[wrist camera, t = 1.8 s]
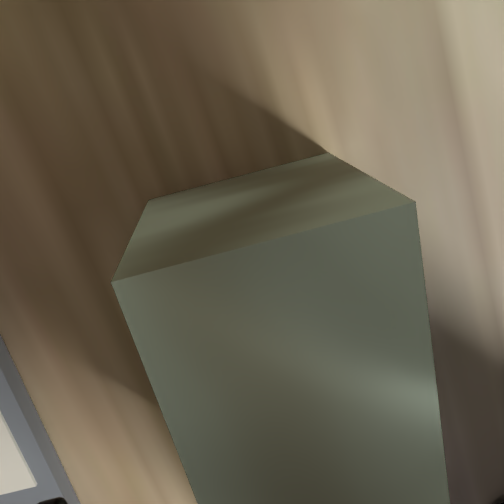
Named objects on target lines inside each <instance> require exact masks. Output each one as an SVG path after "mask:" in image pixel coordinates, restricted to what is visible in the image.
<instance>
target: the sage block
mask: <svg viewBox="0 0 504 504" xmlns="http://www.w3.org/2000/svg"><path fill="white" fill-rule="evenodd" d="M111 284H112V286H113V289H114V292H115V294H116V297H117V299H118V302H119V304H120V307H121V309H122V312H123V315H124V317H125V320H126V322H127V325H128V327H129V330H130V332H131V335H132V337H133V340H134V343H135V345H136V348H137V350H138V353H139V355H140V358H141V360H142V363H143V365H144V368H145V371H146V373H147V376H148V378H149V381H150V383H151V386H152V388H153V391H154V394H155V396H156V399H157V401H158V404H159V406H160V409H161V411H162V414H163V416H164V419H165V422H166V424H167V427H168V429H169V432H170V434H171V437H172V439H173V442H174V444H175V447H176V450H177V452H178V455H179V457H180V460H181V462H182V465H183V467H184V470H185V473H186V475H187V478H188V480H189V483H190V485H191V488H192V490H193V493H194V495H195V498H196V501H197V503H198V504H450V498H449V489H448V480H447V471H446V463H445V454H444V445H443V437H442V428H441V419H440V411H439V402H438V393H437V384H436V376H435V367H434V358H433V350H432V341H431V332H430V324H429V315H428V306H427V297H426V289H425V280H424V271H423V263H422V254H421V245H420V237H419V228H418V219H417V210H416V202H415V201H413V200H412V199H410V198H408V197H406V196H404V195H403V194H401V193H399V192H397V191H396V190H394V189H392V188H390V187H389V186H387V185H385V184H383V183H381V182H380V181H378V180H376V179H374V178H373V177H371V176H369V175H367V174H366V173H364V172H362V171H360V170H359V169H357V168H355V167H353V166H351V165H350V164H348V163H346V162H344V161H343V160H341V159H339V158H337V157H336V156H334V155H332V154H330V153H325V154H322V155H318V156H314V157H310V158H306V159H303V160H299V161H295V162H291V163H287V164H284V165H280V166H276V167H272V168H268V169H265V170H261V171H257V172H253V173H249V174H246V175H242V176H238V177H234V178H230V179H227V180H223V181H219V182H215V183H211V184H208V185H204V186H200V187H196V188H192V189H189V190H185V191H181V192H177V193H173V194H170V195H166V196H162V197H158V198H154V199H151V200H148V202H147V204H146V207H145V209H144V211H143V213H142V215H141V217H140V220H139V222H138V224H137V226H136V228H135V231H134V233H133V235H132V237H131V239H130V241H129V244H128V246H127V248H126V250H125V252H124V255H123V257H122V259H121V261H120V263H119V265H118V268H117V270H116V272H115V274H114V276H113V279H112V281H111Z"/></svg>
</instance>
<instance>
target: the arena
mask: <svg viewBox="0 0 504 504" xmlns="http://www.w3.org/2000/svg"><path fill="white" fill-rule="evenodd" d="M57 497H63V498H64V499H65V500H66V501H67V503H68V504H80V502H79V500H78V498H77V496H76V493H75V491H74V489H73V487H72V485H71V483H70V481H69V479H68V477H67V474H66V472H65V470H64V468H63V466H62V464H61V462H60V460H59V457H58V455H57V453H56V451H55V449H54V447H53V445H52V443H51V441H50V438H49V436H48V434H47V432H46V430H45V428H44V426H43V424H42V421H41V419H40V417H39V415H38V413H37V411H36V409H35V407H34V404H33V402H32V400H31V398H30V396H29V394H28V392H27V390H26V388H25V385H24V383H23V381H22V379H21V377H20V375H19V373H18V371H17V368H16V366H15V364H14V362H13V360H12V358H11V356H10V354H9V352H8V349H7V347H6V345H5V343H4V341H3V339H2V337H1V335H0V504H37V503H39V502H41V501H44V500H48V499H52V498H57Z"/></svg>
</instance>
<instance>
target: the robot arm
mask: <svg viewBox="0 0 504 504" xmlns="http://www.w3.org/2000/svg"><path fill="white" fill-rule="evenodd" d="M37 504H68V503H67V501H66V500H65V499H64V498H63V497H57V498H52V499H48V500H44V501H41V502H39V503H37ZM500 504H504V502H503V503H500Z"/></svg>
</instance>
